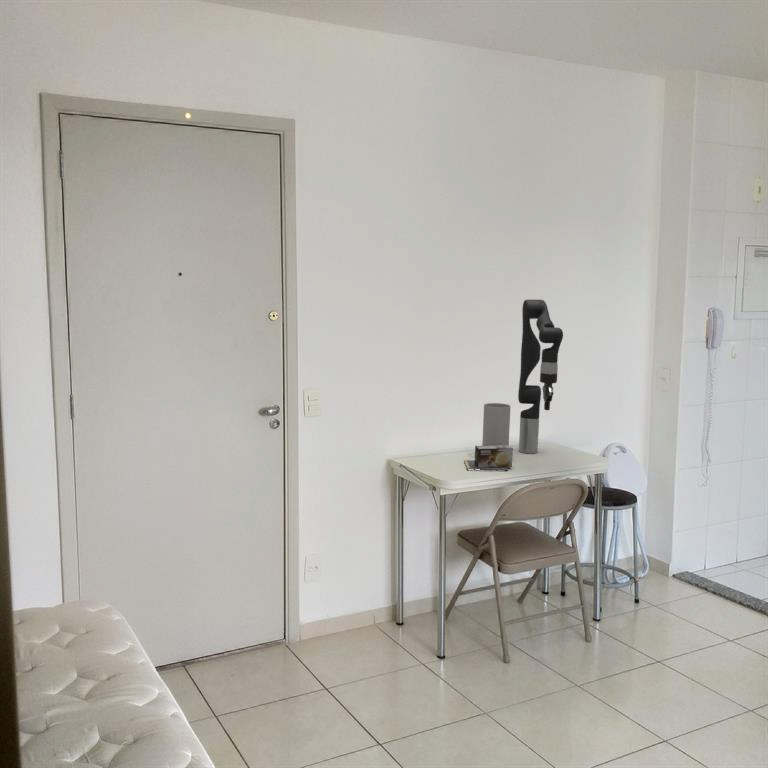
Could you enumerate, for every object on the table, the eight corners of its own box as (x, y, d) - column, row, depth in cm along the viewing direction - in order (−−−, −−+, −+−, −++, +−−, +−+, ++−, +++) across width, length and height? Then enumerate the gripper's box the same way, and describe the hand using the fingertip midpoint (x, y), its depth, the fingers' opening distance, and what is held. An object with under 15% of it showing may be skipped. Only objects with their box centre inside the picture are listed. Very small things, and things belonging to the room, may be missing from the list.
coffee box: (508, 444, 361) (474, 445, 358) (513, 447, 355) (478, 448, 352) (507, 464, 362) (473, 464, 360) (512, 467, 356) (477, 468, 353)
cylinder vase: (476, 455, 381) (478, 404, 378) (495, 452, 389) (497, 402, 385) (494, 460, 371) (497, 408, 368) (513, 457, 379) (515, 406, 375)
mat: (464, 461, 368) (464, 459, 368) (502, 462, 368) (502, 460, 368) (467, 470, 352) (467, 468, 352) (507, 471, 352) (507, 468, 352)
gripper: (537, 369, 360) (535, 407, 363) (543, 373, 347) (541, 412, 349) (554, 370, 360) (552, 407, 362) (560, 374, 347) (558, 413, 349)
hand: (546, 409), depth 356 cm, fingers closed
